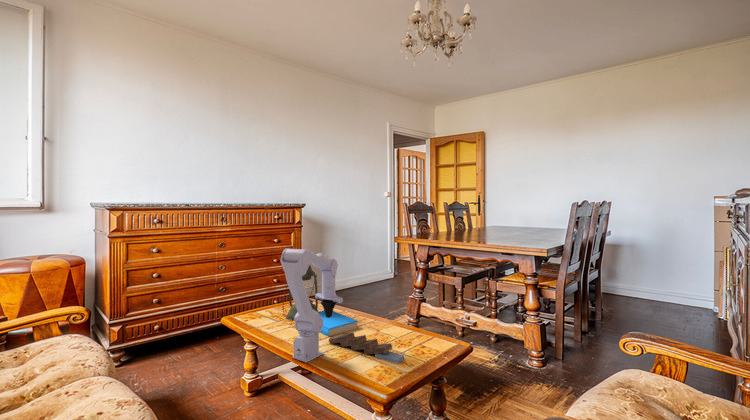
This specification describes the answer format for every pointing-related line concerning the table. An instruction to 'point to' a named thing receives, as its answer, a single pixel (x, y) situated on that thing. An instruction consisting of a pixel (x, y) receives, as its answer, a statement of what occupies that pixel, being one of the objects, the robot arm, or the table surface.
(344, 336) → the domino
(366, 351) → the domino
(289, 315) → the lantern
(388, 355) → the domino
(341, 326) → the book
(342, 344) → the domino
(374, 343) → the domino
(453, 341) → the table surface
